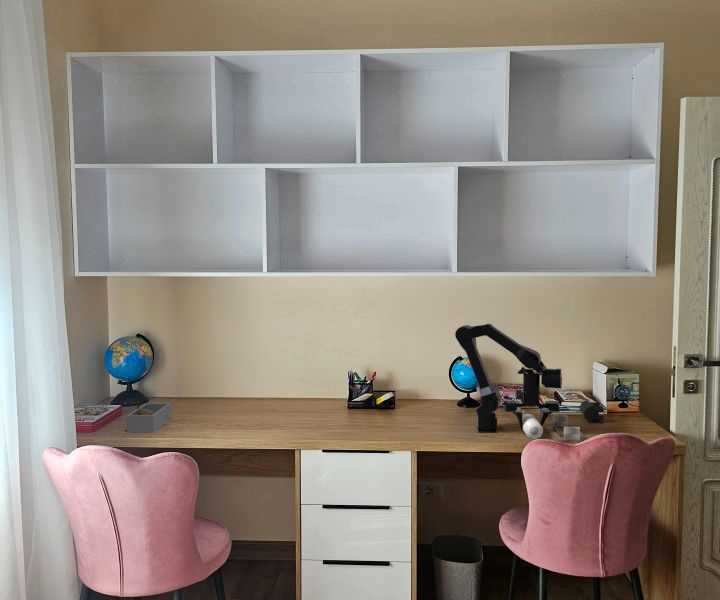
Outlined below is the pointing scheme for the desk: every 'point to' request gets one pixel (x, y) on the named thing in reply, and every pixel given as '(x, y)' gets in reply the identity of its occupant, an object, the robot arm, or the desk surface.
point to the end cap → (592, 411)
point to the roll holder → (564, 430)
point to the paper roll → (531, 426)
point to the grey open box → (144, 410)
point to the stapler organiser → (149, 418)
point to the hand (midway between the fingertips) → (530, 430)
